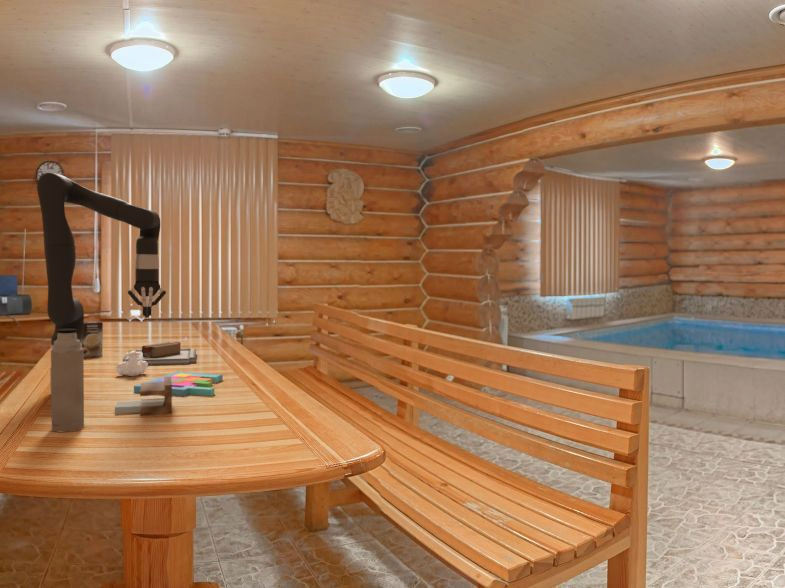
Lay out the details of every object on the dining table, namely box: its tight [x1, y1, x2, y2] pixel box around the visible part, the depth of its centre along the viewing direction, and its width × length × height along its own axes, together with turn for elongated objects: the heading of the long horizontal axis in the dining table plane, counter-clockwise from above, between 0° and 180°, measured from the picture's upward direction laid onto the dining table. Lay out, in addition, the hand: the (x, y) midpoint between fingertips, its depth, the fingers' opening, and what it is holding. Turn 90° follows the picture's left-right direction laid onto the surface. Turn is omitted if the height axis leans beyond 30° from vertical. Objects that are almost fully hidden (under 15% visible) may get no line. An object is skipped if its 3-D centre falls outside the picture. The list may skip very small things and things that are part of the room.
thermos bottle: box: [50, 329, 85, 432], centre depth 168 cm, size 8×8×28 cm
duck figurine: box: [115, 351, 149, 377], centre depth 242 cm, size 12×8×11 cm
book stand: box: [122, 341, 197, 366], centre depth 280 cm, size 30×30×8 cm
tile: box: [114, 400, 165, 415], centre depth 191 cm, size 14×7×2 cm, turn 109°
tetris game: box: [133, 371, 224, 397], centre depth 225 cm, size 28×3×28 cm
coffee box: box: [82, 320, 104, 358], centre depth 283 cm, size 9×6×16 cm
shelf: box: [139, 377, 173, 416], centre depth 191 cm, size 9×13×9 cm
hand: (147, 317), depth 210 cm, fingers closed
